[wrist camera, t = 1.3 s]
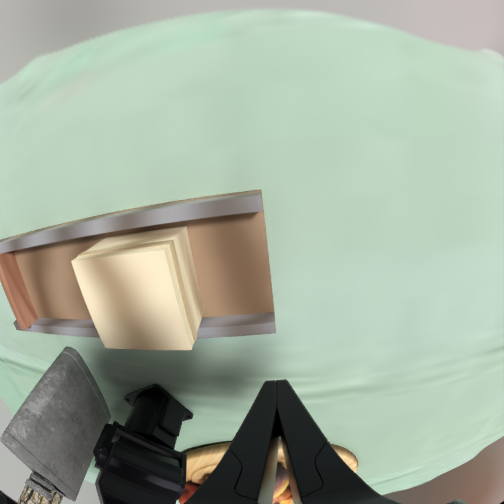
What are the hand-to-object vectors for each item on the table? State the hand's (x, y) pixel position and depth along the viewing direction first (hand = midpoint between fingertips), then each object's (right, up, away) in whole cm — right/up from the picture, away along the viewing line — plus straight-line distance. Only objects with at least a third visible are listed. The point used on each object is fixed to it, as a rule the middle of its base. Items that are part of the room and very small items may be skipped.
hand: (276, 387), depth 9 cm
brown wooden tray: (-14, +3, +13) cm, 20 cm away
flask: (-22, -13, +20) cm, 32 cm away
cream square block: (-9, +3, +12) cm, 15 cm away
